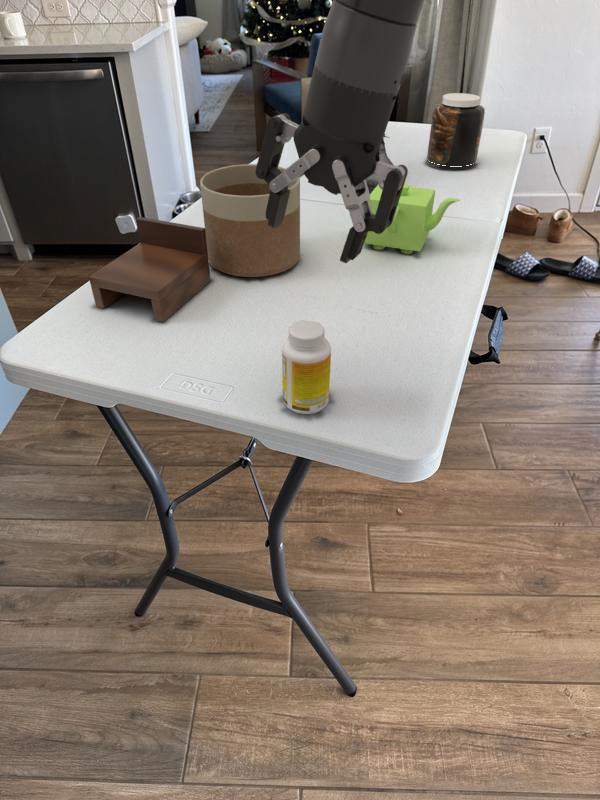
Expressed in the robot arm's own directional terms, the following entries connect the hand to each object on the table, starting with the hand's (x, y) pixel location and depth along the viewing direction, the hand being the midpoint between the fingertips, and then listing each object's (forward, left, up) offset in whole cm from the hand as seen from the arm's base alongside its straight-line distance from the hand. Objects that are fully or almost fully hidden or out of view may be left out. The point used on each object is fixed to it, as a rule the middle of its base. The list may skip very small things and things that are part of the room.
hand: (310, 242), depth 60 cm
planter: (+30, +22, -19) cm, 42 cm away
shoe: (+77, +15, -19) cm, 81 cm away
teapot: (+46, +1, -19) cm, 50 cm away
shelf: (+13, +31, -19) cm, 39 cm away
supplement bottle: (-3, -1, -19) cm, 19 cm away
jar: (+98, +1, -19) cm, 100 cm away
